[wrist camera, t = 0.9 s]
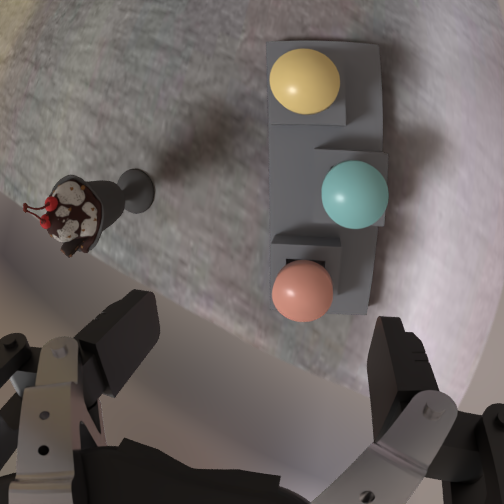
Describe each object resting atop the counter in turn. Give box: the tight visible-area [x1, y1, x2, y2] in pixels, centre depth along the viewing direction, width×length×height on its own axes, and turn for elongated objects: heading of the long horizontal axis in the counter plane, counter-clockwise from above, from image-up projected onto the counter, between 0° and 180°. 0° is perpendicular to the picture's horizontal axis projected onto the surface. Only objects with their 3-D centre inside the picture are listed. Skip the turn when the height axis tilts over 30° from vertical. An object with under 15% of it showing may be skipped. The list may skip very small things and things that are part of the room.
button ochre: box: [270, 49, 340, 115], centre depth 21 cm, size 5×5×4 cm
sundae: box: [23, 169, 154, 258], centre depth 25 cm, size 7×7×15 cm
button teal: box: [321, 160, 389, 229], centre depth 23 cm, size 5×5×4 cm
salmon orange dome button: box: [272, 260, 333, 322], centre depth 26 cm, size 5×5×4 cm
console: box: [266, 41, 388, 315], centre depth 26 cm, size 26×10×4 cm, turn 1°
